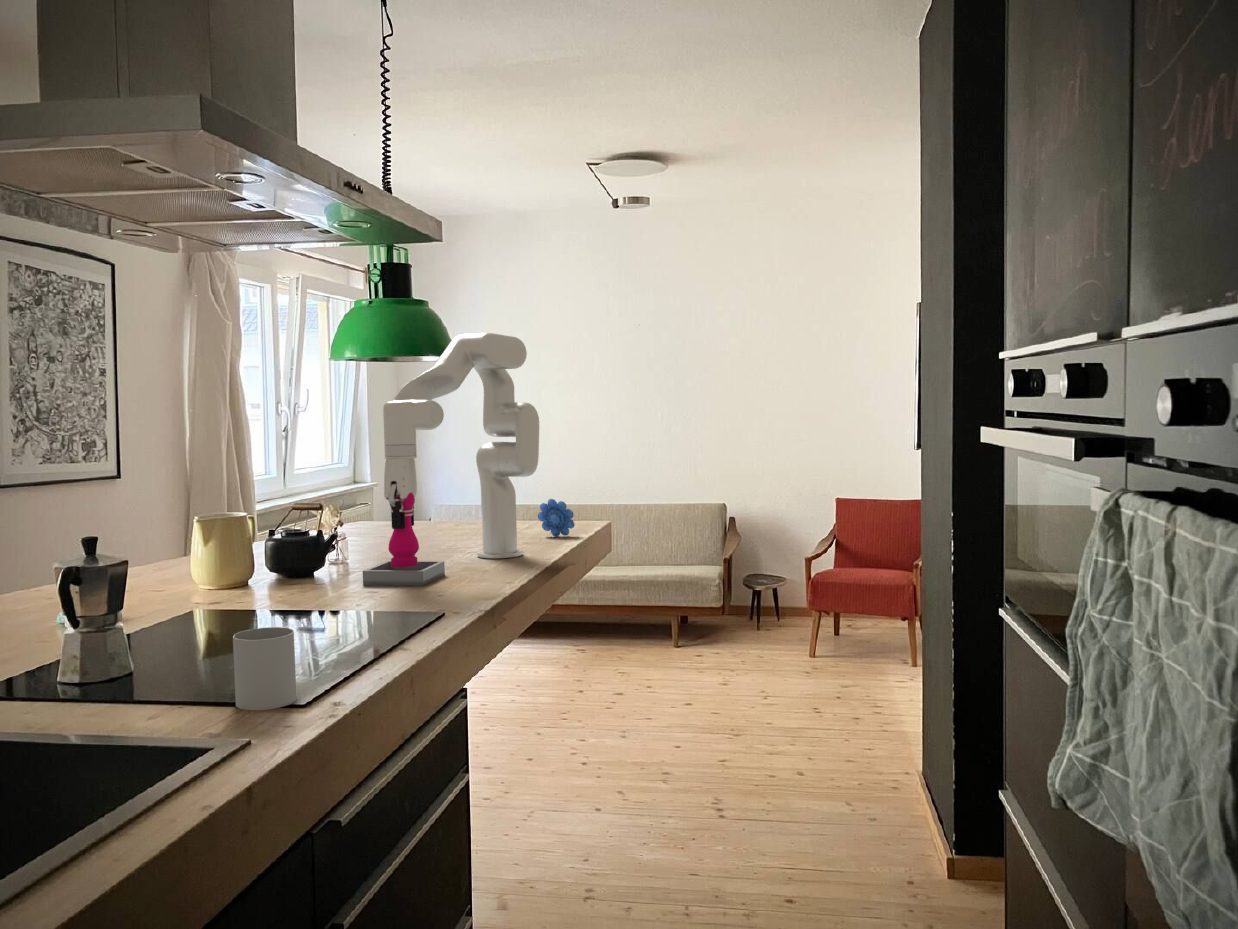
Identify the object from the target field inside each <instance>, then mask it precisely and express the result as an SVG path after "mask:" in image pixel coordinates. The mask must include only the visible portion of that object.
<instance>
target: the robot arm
mask: <svg viewBox="0 0 1238 929" xmlns="http://www.w3.org/2000/svg"><path fill="white" fill-rule="evenodd" d="M527 351H528V350H527V348H526V345H525V344H524V342H523V341H522V340H521V339H520V338H518V337H516V336H512V335H511V336H510V335H503V334H499V333H493V332H477V333H475V332H474V333H463V334H458V335H456V336H455V337H454V338H452V340H451V341H450V342H449V344H448V345H447V346H446V347H445V349H444V351H443V352H442V354H440V356H439V357H438V359H437V360H436V362H435V363H434V364H433V366H432V367H431V368H430V369H428V370H425V371H424V372H422V373H421V374H419V375H418V376H416V377H415V378H413V379H411V380H409V381H408V382H406V383H405V384H404V385H403V386H402V387H400V389H399V390H398V392H397V393H396V394H395V396H393V398H392V400H390V401H386V402H385V403H384V404H383V409H382V411H383V412H382V413H383V415H382V416H383V436H384V437H383V439H384V459H385V464H384V474H383V475H384V477H383V478H384V479H383V483H384V484H383V492H384V493H383V496H384V499H385V500H386V501H387V502H388V503H389V506H390V513H391V514H390V517H391V529H392V530H394V529H404V528H405V512H403V507H404V499H406V498H407V496H408V494H409V493H411V492H412V493H413V495H414V498H415V497H416V495H417V491H418V490H417V488H418V487H417V486H418V485H417V482H418V481H417V470H416V461H415V459H416V458H417V455H418V454H417V431H431V430H435V429H437V428H438V427H439V426H440V425H441V424H442V423H443V421H444V416H445V414H444V410H443V409H444V408H442V406H441V404H439V403H438V402H437V401H435V400H434V399H437V398H440V397H444V396H447V395H449V394H451V393H453V392H455V391H457V390H458V389H459V388H460V387H461V385H462V384H463V382H464V381H465V379H466V378H467V376H468V375H469V374H470V372H471V370H473V369H474V370H475V371H476V373H477V375H478V376H479V378H480V380H481V383H482V386H483V402H482V403H483V405H482V406H483V408H482V410H483V412H482V425H483V430H484V433H486V434H487V435H488V436H491V437H494V438H495V437H496V438H515V441H492V442H487V443H484V444H482V445H481V446H480V447H479V448H478V450H477V452H476V455H475V459H476V466H477V473H478V477H479V483H480V502H481V503H480V505H481V507H480V508H481V533H482V534H481V536H482V541H481V542H482V550H481V549H480V550H479V551H477V553H476V554H477V557H478V558H481V559H510V558H516V557H521V556H522V555H523V554H524V552H523V551H524V550H522V549H520V548H518V542H517V541H518V537H517V536H518V534H517V531H518V530H517V505H516V504H517V503H516V502H517V501H516V500H517V499H516V498H517V496H516V490H515V486H514V484H513V483H512V480H511V479H510V478H509V477H512V478H513V477H515V478H517V477H518V478H519V477H520V478H525V477H526V478H527V477H530V476H532V475H533V474H534V473H535V472H536V471H537V469H538V465H539V457H540V456H539V455H540V452H539V451H540V416H539V413H538V411H537V409H536V407H535V405H533V404H531V403H529V402H521V401H519V402H518V401H515V383H514V381H513V378H512V377H511V375H510V373H509V372H508V371H507V370H516V369H519V368H521V367H522V366H524V364H525V362H526V359H527V354H528V353H527ZM396 497H400V498H401V499H396ZM398 502H400V505H399V503H398ZM414 508H415V504H414V505H413V506H412V508H411V509H413V511H412V512H413V515H412V516H411V523H412V527H414V526H415V509H414Z"/></svg>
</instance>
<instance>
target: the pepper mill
mask: <svg viewBox="0 0 1238 929" xmlns="http://www.w3.org/2000/svg"><path fill="white" fill-rule="evenodd" d="M396 499H401V498H400V497H396ZM415 502H416V498H415V497H414V495H413V493H412V492H411V493H409V494H408V496H407V498H406V499H404V507H403V512H405V528H404V529H393V531H392V534H391V536H390V539H389V541H388V542H389V543H388V551H389V553H390V554H391V555H392V557H391V558H390V561H391V566H393V567H410V566H415V565H417V561H418V557H417V556H416V554H417V553H418V551H419V549H420V546H419V543H420V542H419V540H418V538H417V536H416V533H415V532H414V529H413V526H412V523H411V516H412V515H413V512H412V511H413V509H411V508H412V506H413V505H414V506H415ZM398 503H399V505H400V502H398Z"/></svg>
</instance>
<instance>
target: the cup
mask: <svg viewBox="0 0 1238 929" xmlns="http://www.w3.org/2000/svg"><path fill="white" fill-rule="evenodd" d="M232 646H233V647H232V648H233V649H232V650H233V673H234V674H233V675H234V691H235V692H234V694H235V707H237V708H238V709H240V710H244V711H267V710H273V709H278V708H279V709H280V708H283V707H286V706H289V705H292V704H293V703H295V702H296V701H297V676H296V673H297V672H296V654H295V651H296V650H295V632H294V629H292V628H289V627H278V626H276V627H275V626H273V627H269V626H268V627H267V626H266V627H259V628H251V629H247V630H242V631H239V632H237V633H234V634H233V636H232Z"/></svg>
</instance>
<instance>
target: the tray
mask: <svg viewBox="0 0 1238 929" xmlns="http://www.w3.org/2000/svg"><path fill="white" fill-rule="evenodd" d="M445 568H446V567H445V560H439V561H438V560H417V565H415V566H410V567H393V566H391V560H386V561H384V562H381V563H378V564H376V565H374V566H372V567H368V568H367V569H364V570H362V586H366V587H367V586H368V587H369V586H373V587H374V586H375V587H376V586H378V587H379V586H380V587H381V586H382V587H383V586H385V587H392V586H393V587H425V586H427V585H428V584H430V583H432V582H434V581H437V580H438V579H441V578H442V577H444V576H446V574H445V573H446V572H445Z"/></svg>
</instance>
